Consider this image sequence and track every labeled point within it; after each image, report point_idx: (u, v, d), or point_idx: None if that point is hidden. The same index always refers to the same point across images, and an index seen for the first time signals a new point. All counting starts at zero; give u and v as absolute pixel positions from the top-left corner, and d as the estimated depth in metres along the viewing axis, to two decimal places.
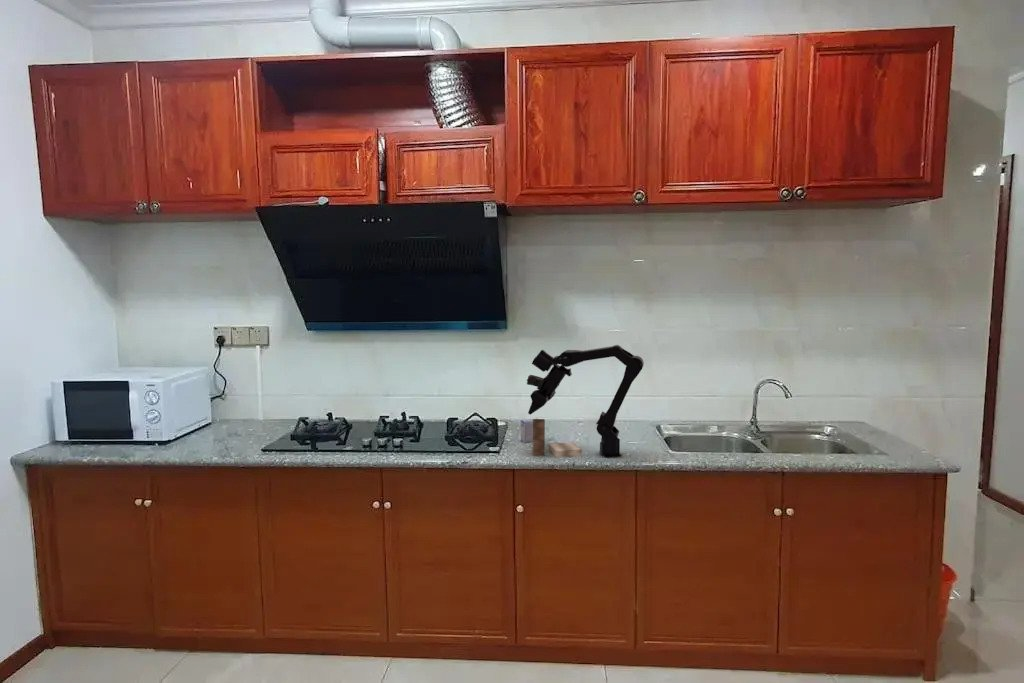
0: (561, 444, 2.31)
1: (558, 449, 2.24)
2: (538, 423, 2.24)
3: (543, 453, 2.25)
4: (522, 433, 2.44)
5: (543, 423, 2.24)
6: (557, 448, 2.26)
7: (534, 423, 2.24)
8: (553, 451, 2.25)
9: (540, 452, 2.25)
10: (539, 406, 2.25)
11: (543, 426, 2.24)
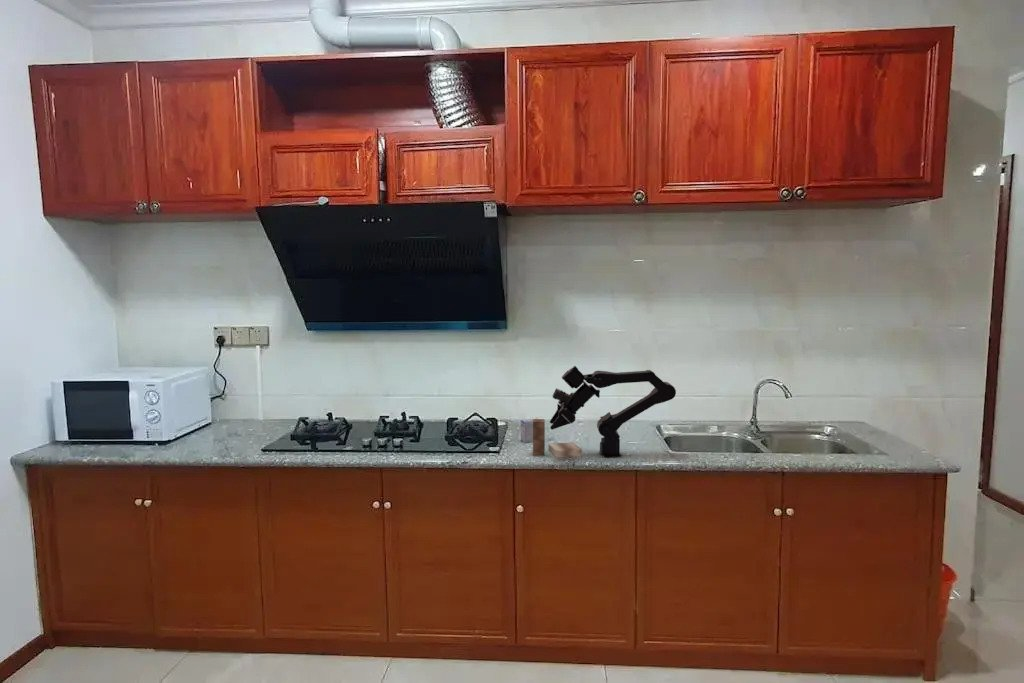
0: (561, 444, 2.31)
1: (558, 449, 2.24)
2: (538, 423, 2.24)
3: (543, 453, 2.25)
4: (522, 433, 2.44)
5: (543, 423, 2.24)
6: (557, 448, 2.26)
7: (534, 423, 2.24)
8: (553, 451, 2.25)
9: (540, 452, 2.25)
10: (564, 423, 2.19)
11: (543, 426, 2.24)
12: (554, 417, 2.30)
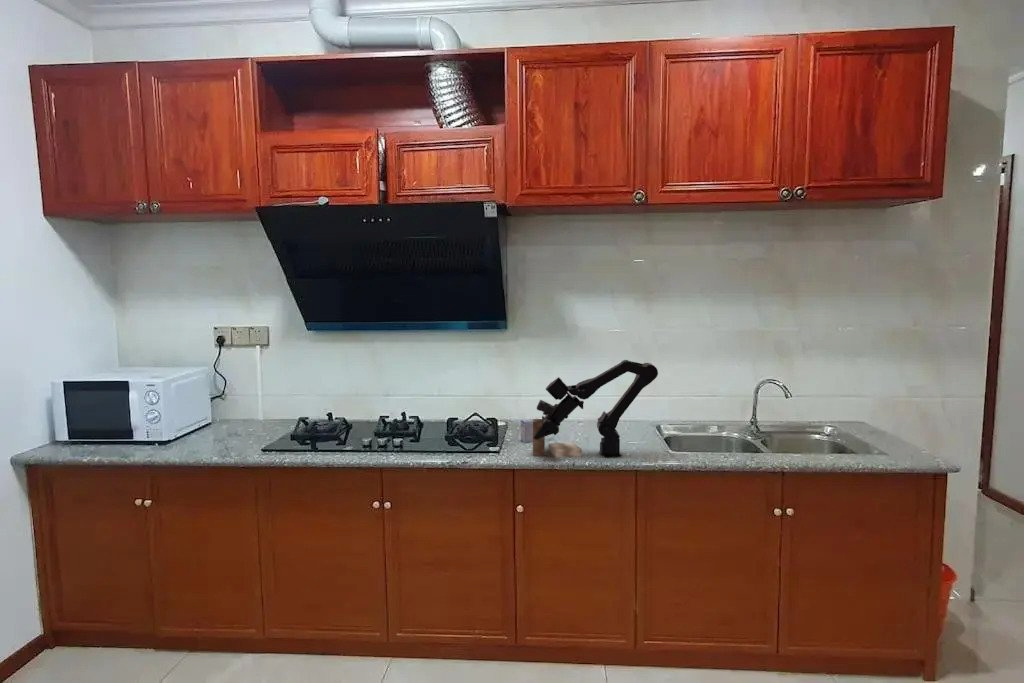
0: (561, 444, 2.31)
1: (558, 449, 2.24)
2: (538, 423, 2.24)
3: (543, 453, 2.25)
4: (522, 433, 2.44)
5: None
6: (557, 447, 2.26)
7: (534, 423, 2.24)
8: (553, 451, 2.25)
9: (540, 452, 2.25)
10: (548, 433, 2.22)
11: None
12: None
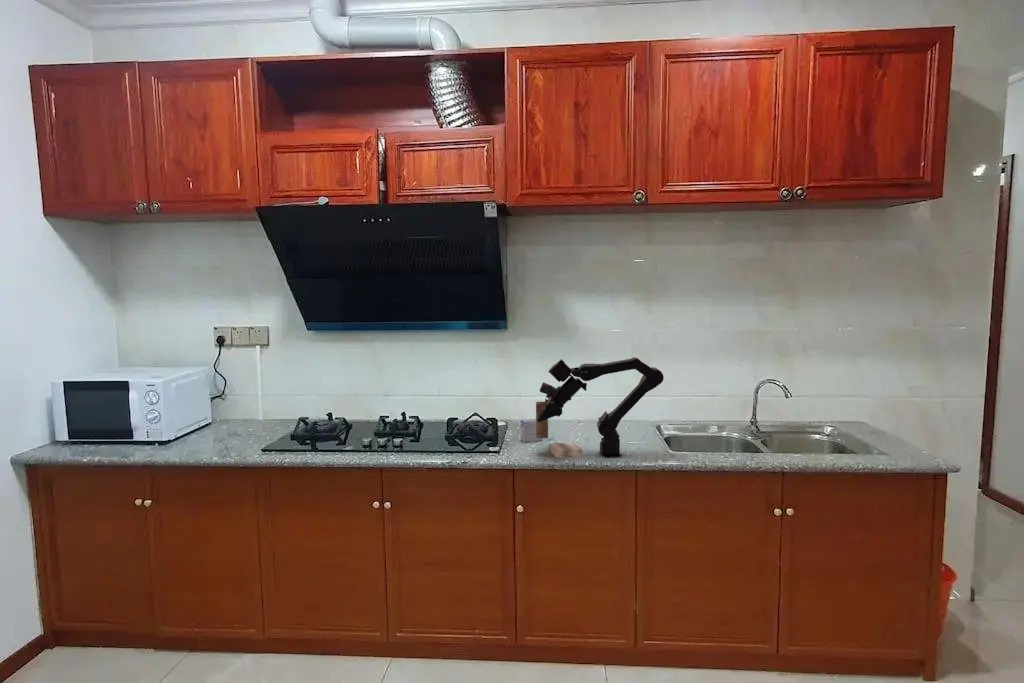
0: (561, 444, 2.31)
1: (558, 449, 2.24)
2: (541, 405, 2.23)
3: (546, 435, 2.24)
4: (522, 433, 2.44)
5: None
6: (557, 447, 2.26)
7: (537, 405, 2.23)
8: (553, 451, 2.25)
9: (544, 434, 2.24)
10: (552, 415, 2.22)
11: None
12: None
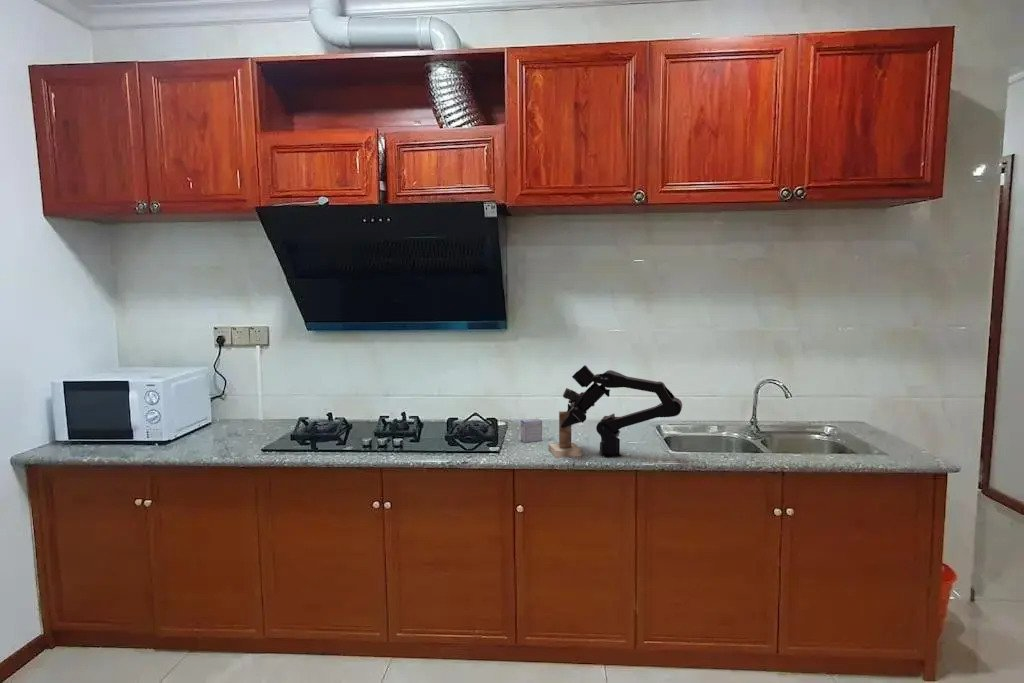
0: None
1: (558, 449, 2.24)
2: (565, 415, 2.26)
3: (570, 445, 2.26)
4: (522, 433, 2.44)
5: None
6: (557, 448, 2.26)
7: (561, 415, 2.26)
8: (553, 451, 2.25)
9: (567, 444, 2.26)
10: (575, 421, 2.22)
11: None
12: None
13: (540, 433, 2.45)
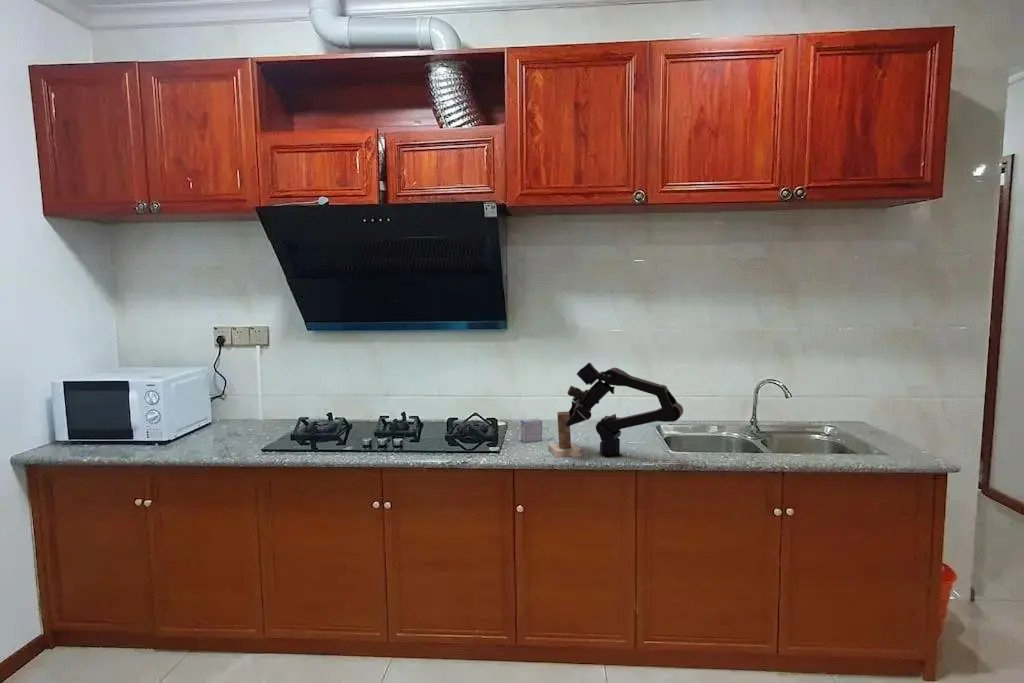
0: None
1: (558, 449, 2.24)
2: (563, 416, 2.25)
3: (569, 445, 2.26)
4: (522, 433, 2.44)
5: (568, 416, 2.24)
6: (557, 448, 2.26)
7: (559, 416, 2.25)
8: (553, 451, 2.25)
9: (567, 444, 2.26)
10: (580, 420, 2.20)
11: (568, 419, 2.25)
12: (569, 414, 2.31)
13: (540, 433, 2.45)
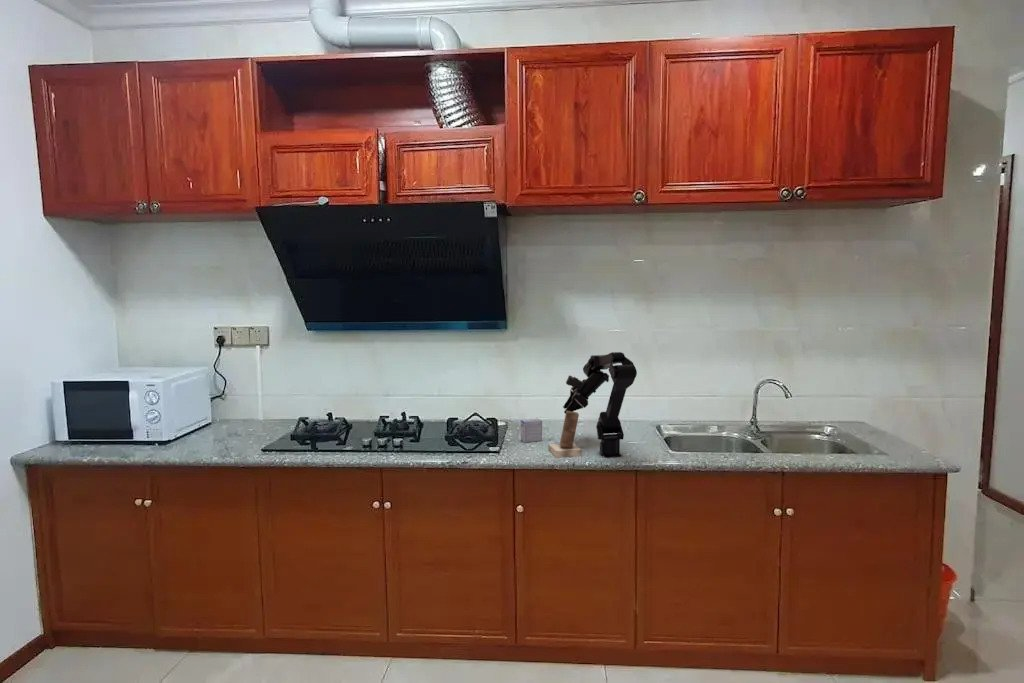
0: None
1: (558, 449, 2.24)
2: (572, 415, 2.25)
3: (571, 445, 2.26)
4: (522, 433, 2.44)
5: (577, 416, 2.25)
6: (557, 448, 2.26)
7: (568, 414, 2.25)
8: (553, 451, 2.25)
9: (569, 444, 2.26)
10: (578, 407, 2.33)
11: (576, 419, 2.25)
12: (567, 402, 2.44)
13: (540, 433, 2.45)
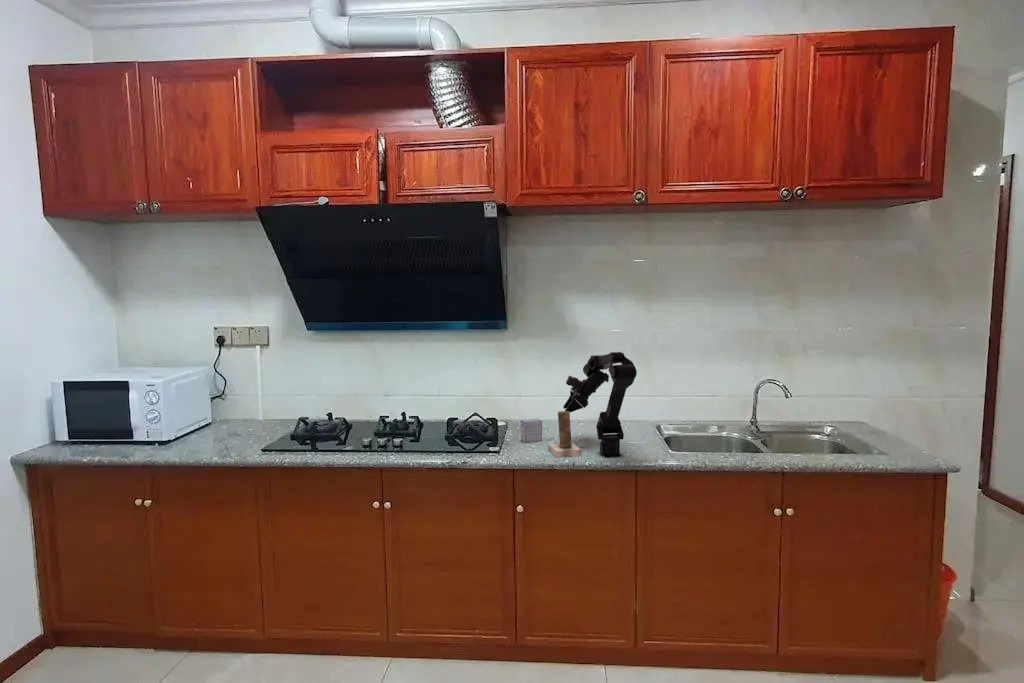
0: None
1: (558, 449, 2.24)
2: (563, 414, 2.26)
3: (570, 444, 2.26)
4: (522, 433, 2.44)
5: (568, 414, 2.25)
6: (557, 448, 2.26)
7: (559, 415, 2.26)
8: (553, 451, 2.25)
9: (567, 443, 2.26)
10: (578, 407, 2.33)
11: (568, 417, 2.25)
12: (567, 403, 2.44)
13: (540, 433, 2.45)
